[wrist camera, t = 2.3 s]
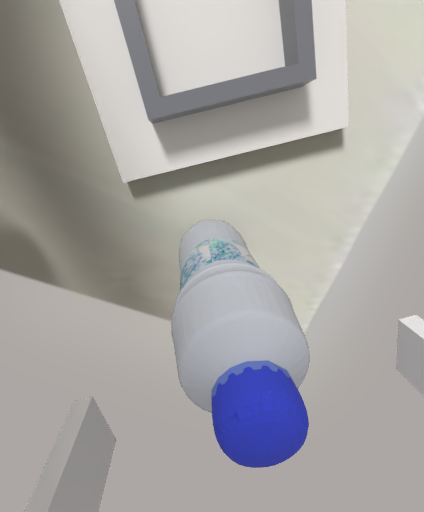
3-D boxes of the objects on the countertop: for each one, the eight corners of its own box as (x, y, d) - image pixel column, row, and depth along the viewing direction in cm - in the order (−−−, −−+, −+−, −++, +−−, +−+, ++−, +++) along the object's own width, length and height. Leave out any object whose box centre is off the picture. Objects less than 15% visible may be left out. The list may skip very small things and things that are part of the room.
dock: (14, -144, 16) (-36, -232, 13) (326, -219, 16) (368, -327, 13) (126, 181, 24) (115, 186, 20) (339, 128, 24) (367, 123, 20)
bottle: (249, 263, 28) (377, 478, 10) (190, 283, 28) (202, 532, 10) (232, 203, 25) (360, 338, 7) (167, 225, 26) (124, 415, 7)
